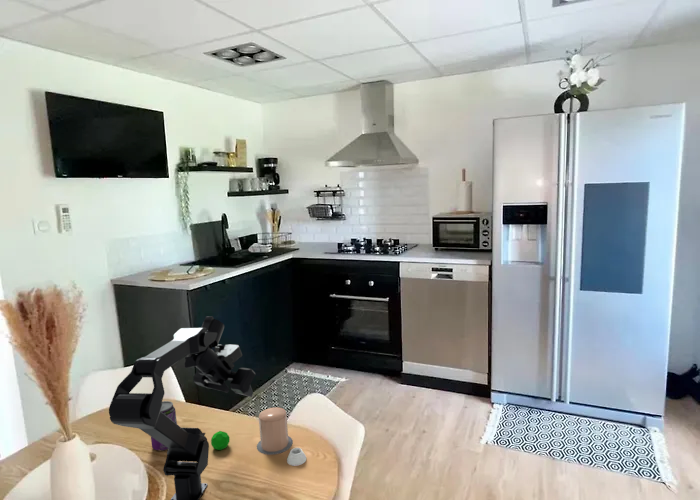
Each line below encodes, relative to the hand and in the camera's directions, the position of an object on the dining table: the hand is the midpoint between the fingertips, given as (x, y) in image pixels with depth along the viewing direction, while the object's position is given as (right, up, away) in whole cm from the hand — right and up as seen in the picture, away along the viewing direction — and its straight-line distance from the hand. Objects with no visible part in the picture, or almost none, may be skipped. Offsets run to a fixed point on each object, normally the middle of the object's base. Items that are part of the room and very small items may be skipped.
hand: (239, 393), depth 124 cm
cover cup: (+10, -14, 0) cm, 17 cm away
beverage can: (-22, -16, +2) cm, 27 cm away
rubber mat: (+10, -15, 0) cm, 18 cm away
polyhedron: (-5, -16, -1) cm, 16 cm away
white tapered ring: (+17, -16, -8) cm, 25 cm away
